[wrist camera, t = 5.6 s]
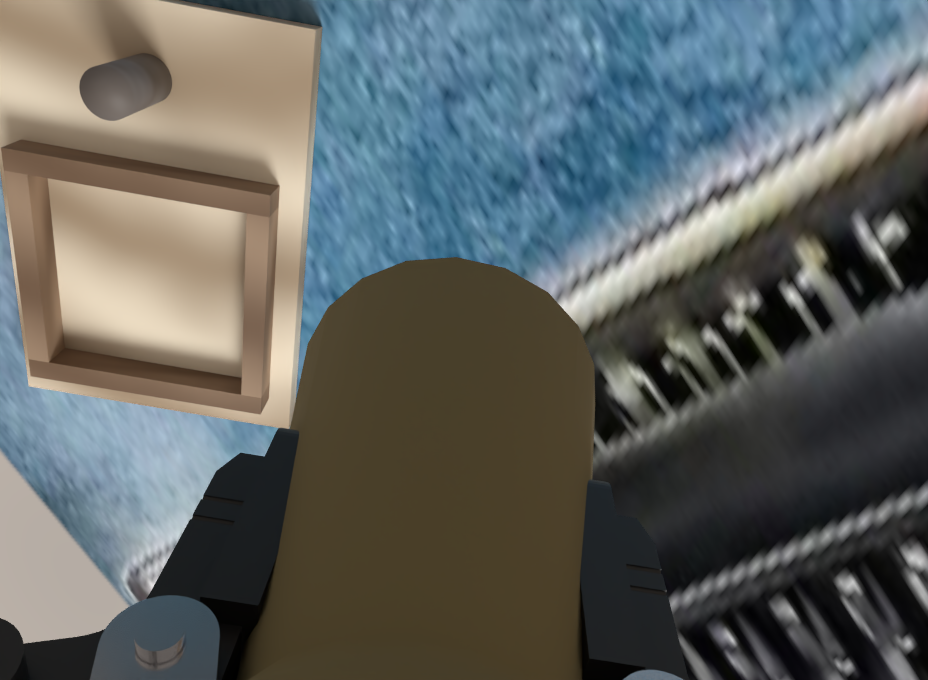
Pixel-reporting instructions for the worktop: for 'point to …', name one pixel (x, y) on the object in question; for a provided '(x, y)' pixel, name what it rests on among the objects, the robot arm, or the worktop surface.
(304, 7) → the worktop surface
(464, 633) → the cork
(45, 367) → the socket plate
